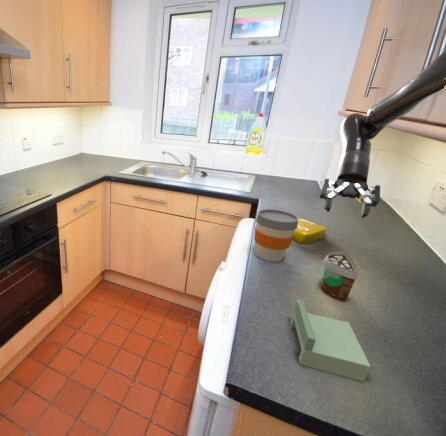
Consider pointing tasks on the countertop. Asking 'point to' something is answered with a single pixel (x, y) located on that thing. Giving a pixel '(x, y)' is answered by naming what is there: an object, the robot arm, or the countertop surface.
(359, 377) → the green stand base
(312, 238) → the yellow flat block
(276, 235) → the reusable coffee cup
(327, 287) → the food container
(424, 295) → the countertop surface
